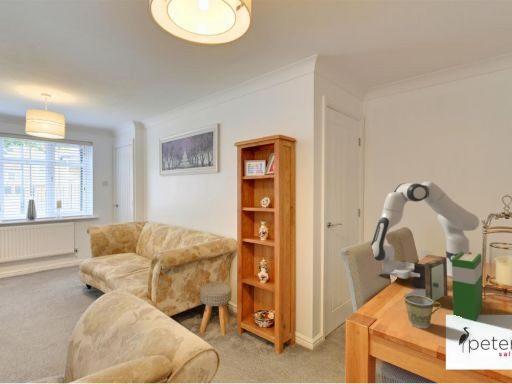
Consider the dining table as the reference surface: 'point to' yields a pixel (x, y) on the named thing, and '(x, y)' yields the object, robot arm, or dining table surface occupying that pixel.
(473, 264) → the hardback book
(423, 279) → the door stopper
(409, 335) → the dining table surface
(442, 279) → the door
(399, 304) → the dining table surface
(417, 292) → the threshold mat
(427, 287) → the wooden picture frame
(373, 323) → the dining table surface
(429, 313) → the ceramic cup
